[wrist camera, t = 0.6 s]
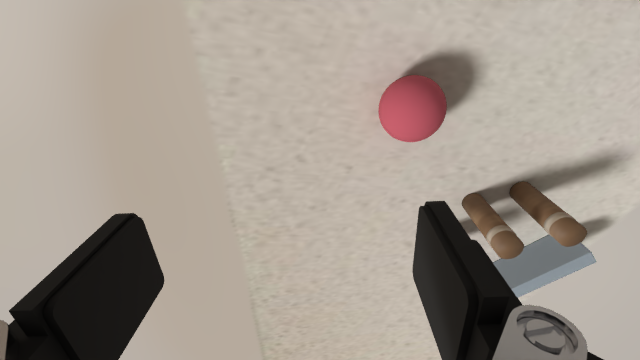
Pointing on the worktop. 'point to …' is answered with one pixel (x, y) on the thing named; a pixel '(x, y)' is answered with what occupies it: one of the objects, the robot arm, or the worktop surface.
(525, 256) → the bar
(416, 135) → the ball
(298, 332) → the worktop surface
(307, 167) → the worktop surface
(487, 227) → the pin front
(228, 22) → the worktop surface
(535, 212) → the pin
